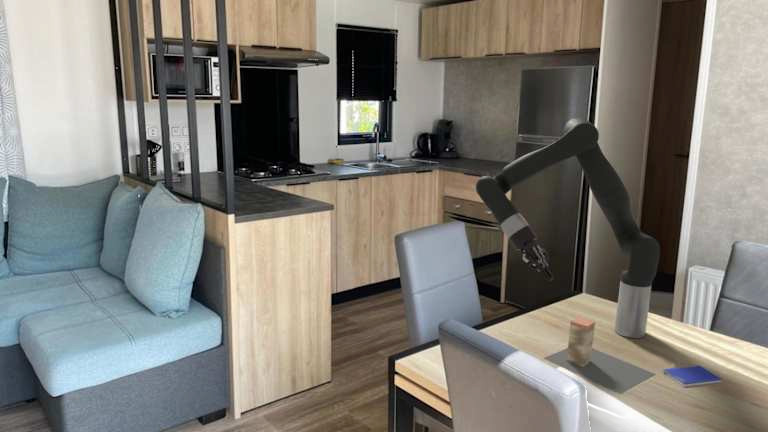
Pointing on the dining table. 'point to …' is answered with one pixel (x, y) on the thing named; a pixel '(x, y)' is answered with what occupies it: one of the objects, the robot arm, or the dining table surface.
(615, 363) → the rubber mat
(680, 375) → the hard drive
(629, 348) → the dining table surface
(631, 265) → the robot arm
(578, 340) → the birch block
